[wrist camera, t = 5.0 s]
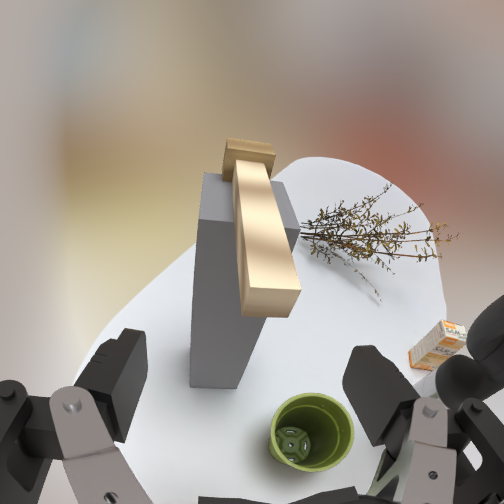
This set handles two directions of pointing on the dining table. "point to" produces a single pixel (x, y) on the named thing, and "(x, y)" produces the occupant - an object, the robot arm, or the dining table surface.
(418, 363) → the supplement box
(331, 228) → the dried plant
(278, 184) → the plinth
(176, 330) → the dining table surface
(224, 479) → the dining table surface
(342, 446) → the plant pot
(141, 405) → the dining table surface
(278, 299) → the hanging bar
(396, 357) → the dining table surface
